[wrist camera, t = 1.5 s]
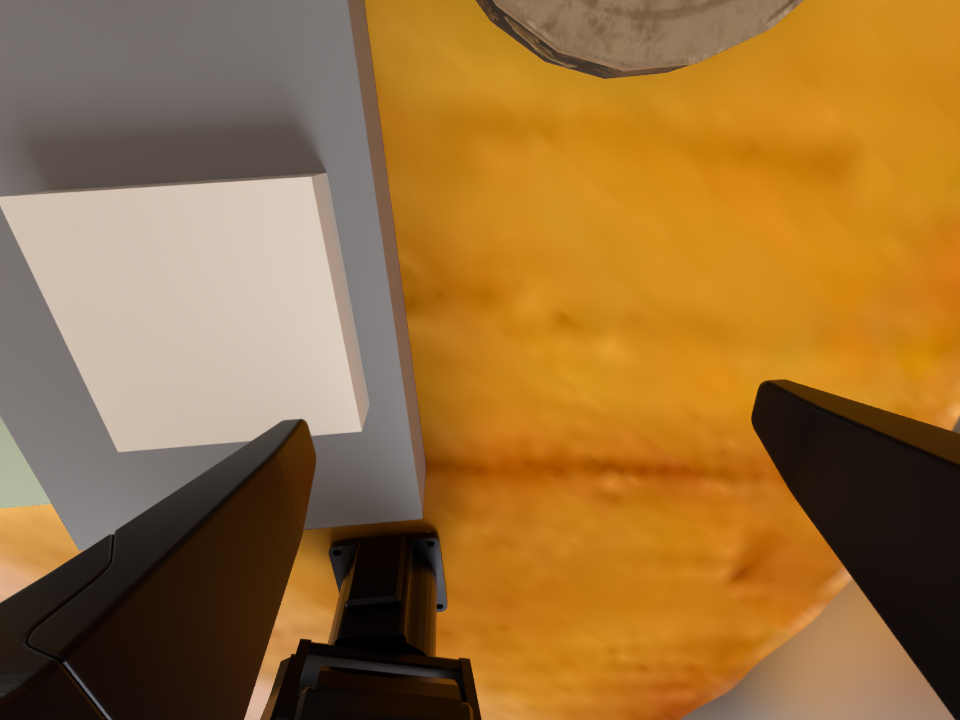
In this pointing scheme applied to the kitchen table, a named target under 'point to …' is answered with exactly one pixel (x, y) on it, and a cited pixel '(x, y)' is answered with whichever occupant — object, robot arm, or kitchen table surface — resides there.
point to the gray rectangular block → (198, 157)
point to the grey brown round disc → (632, 30)
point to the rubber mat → (17, 476)
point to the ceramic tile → (200, 305)
